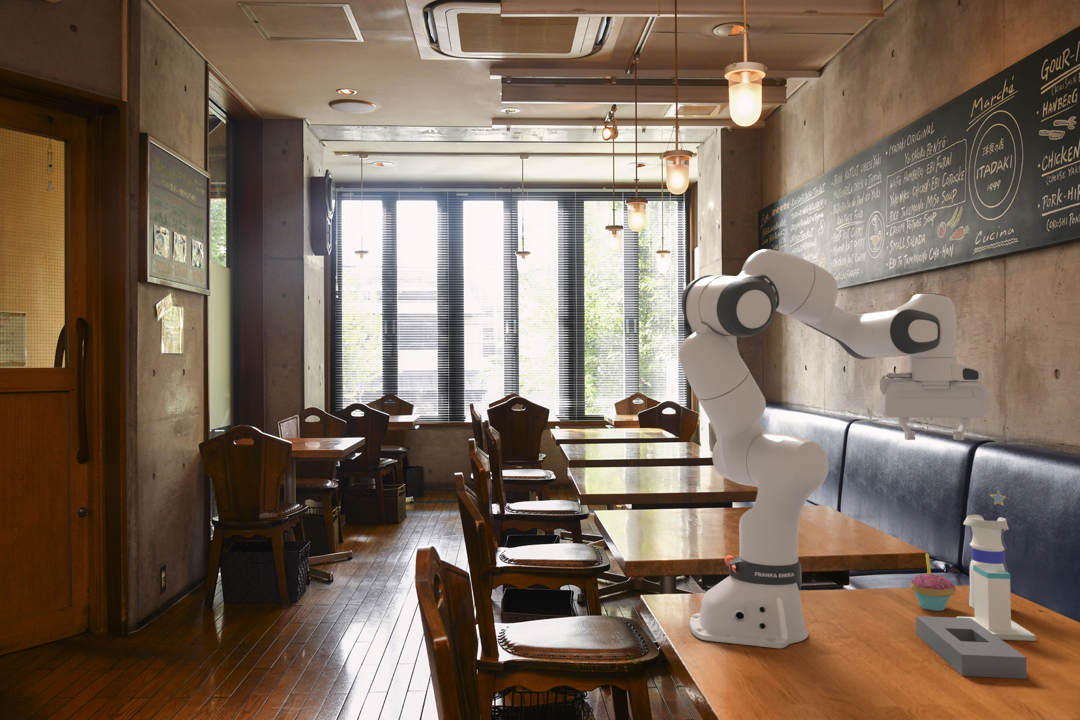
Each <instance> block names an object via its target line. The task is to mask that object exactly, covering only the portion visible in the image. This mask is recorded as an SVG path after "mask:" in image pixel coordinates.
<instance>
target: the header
mask: <svg viewBox="0 0 1080 720" xmlns="http://www.w3.org/2000/svg"><path fill="white" fill-rule="evenodd" d="M915 635H916V636H918V638H919V639H920V640H922V641H923V642H924V644H926V645H927V646H928V647H930V648H931V650H932V651H934V652H935V653H936V655H939V657H941V658H942V659H943V660H944V661H945V662H946V663H948V665H949V666H950V667H952V669H954V670H955V671H956V672H957V673H958V674H959V675H961V676H962V677H978V678H980V677H981V678H1000V679H1020V680H1021V679H1025V680H1027V679H1028V678H1027V675H1028V674H1027V657H1026V656H1025V655H1024V654H1022V653H1021V652H1019V651H1018V650H1016V649H1015V648H1013V646H1011V645H1010V644H1008V643H1007V642H1005V640H1004V641H1003V640H1002V639H999V638H998V637H997V636H995V635H994V634H992V633H991V632H990V631H988V630H987V629H985V628H984V627H983V626H981V625H980V624H978V623H977V622H975V621H974V620H973V619H971V618H956V617H950V616H948V617H947V616H924V615H922V616H920V615H918V616H917V615H916V616H915Z"/></svg>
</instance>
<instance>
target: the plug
mask: <svg viewBox="0 0 1080 720" xmlns="http://www.w3.org/2000/svg"><path fill="white" fill-rule="evenodd" d="M973 570H974V608H973V609H974V612H973V613H974V616H973V617H975V621H976V622H978V623H979V624H981V625H982V626H983V627H985V628H986V629H988V630H993V631H1011V620H1012V614H1011V613H1012V612H1011V611H1012V609H1011V608H1012V605H1011V573H1010V572H1006V571H1004V570H1002V569H1000V568H998V567H996V566H986V565H973Z"/></svg>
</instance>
